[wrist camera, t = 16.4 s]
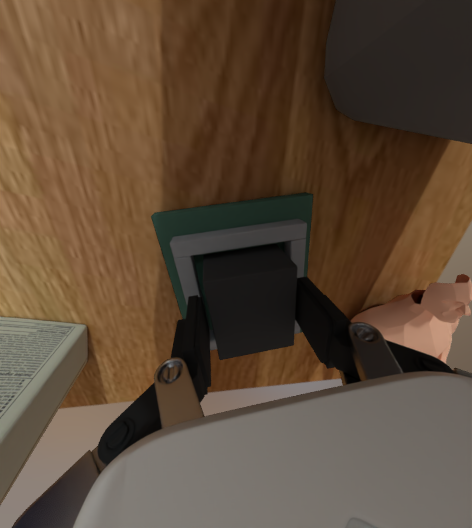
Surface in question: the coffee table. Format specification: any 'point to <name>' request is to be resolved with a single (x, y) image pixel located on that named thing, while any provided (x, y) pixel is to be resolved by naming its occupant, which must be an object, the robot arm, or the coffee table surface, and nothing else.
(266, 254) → the black block
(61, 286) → the coffee table surface
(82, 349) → the cosmetic box
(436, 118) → the alarm clock
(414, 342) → the male figurine
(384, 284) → the coffee table surface
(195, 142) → the coffee table surface
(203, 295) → the base pad
